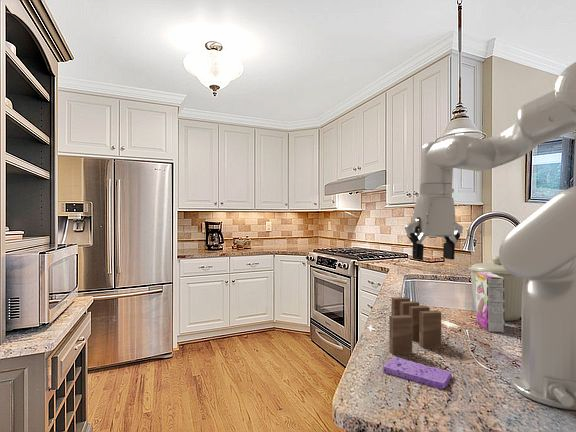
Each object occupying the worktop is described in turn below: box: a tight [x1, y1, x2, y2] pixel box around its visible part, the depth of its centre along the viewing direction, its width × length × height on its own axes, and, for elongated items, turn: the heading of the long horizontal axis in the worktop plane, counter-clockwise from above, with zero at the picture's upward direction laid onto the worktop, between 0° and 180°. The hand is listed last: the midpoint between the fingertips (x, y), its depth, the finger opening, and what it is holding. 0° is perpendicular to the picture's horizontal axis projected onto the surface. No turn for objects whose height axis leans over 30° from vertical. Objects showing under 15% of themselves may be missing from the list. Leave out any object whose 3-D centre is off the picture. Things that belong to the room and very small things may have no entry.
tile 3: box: [409, 305, 431, 342], centre depth 97 cm, size 2×5×9 cm, turn 99°
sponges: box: [382, 356, 453, 390], centre depth 74 cm, size 7×13×2 cm, turn 52°
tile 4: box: [400, 300, 420, 315], centre depth 102 cm, size 2×5×9 cm, turn 99°
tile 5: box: [390, 296, 411, 316], centre depth 108 cm, size 2×5×9 cm, turn 99°
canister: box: [468, 255, 524, 322], centre depth 121 cm, size 18×18×21 cm
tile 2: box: [418, 310, 442, 349], centre depth 91 cm, size 2×5×9 cm, turn 99°
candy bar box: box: [475, 272, 506, 334], centre depth 109 cm, size 11×5×16 cm, turn 168°
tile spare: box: [388, 315, 413, 356], centre depth 87 cm, size 2×5×9 cm, turn 99°
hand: (433, 259), depth 89 cm, fingers open, 9 cm apart
